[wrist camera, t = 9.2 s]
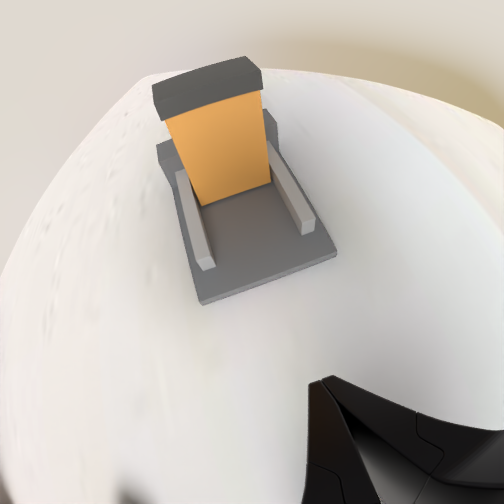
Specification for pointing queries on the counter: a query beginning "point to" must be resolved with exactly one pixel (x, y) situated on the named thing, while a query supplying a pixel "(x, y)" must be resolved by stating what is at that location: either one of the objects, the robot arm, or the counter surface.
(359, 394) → the robot arm
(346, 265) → the counter surface
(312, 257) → the base
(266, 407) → the counter surface
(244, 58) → the handle
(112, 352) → the counter surface
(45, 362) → the counter surface
